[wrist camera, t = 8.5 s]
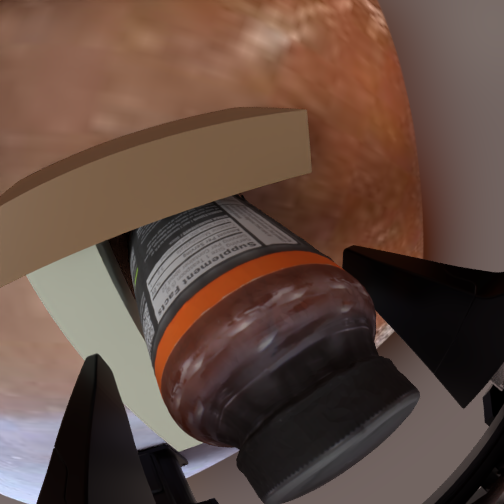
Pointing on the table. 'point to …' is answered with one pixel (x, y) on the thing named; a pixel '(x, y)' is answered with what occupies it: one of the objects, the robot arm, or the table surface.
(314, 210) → the table surface
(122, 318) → the wall board
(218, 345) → the supplement bottle
